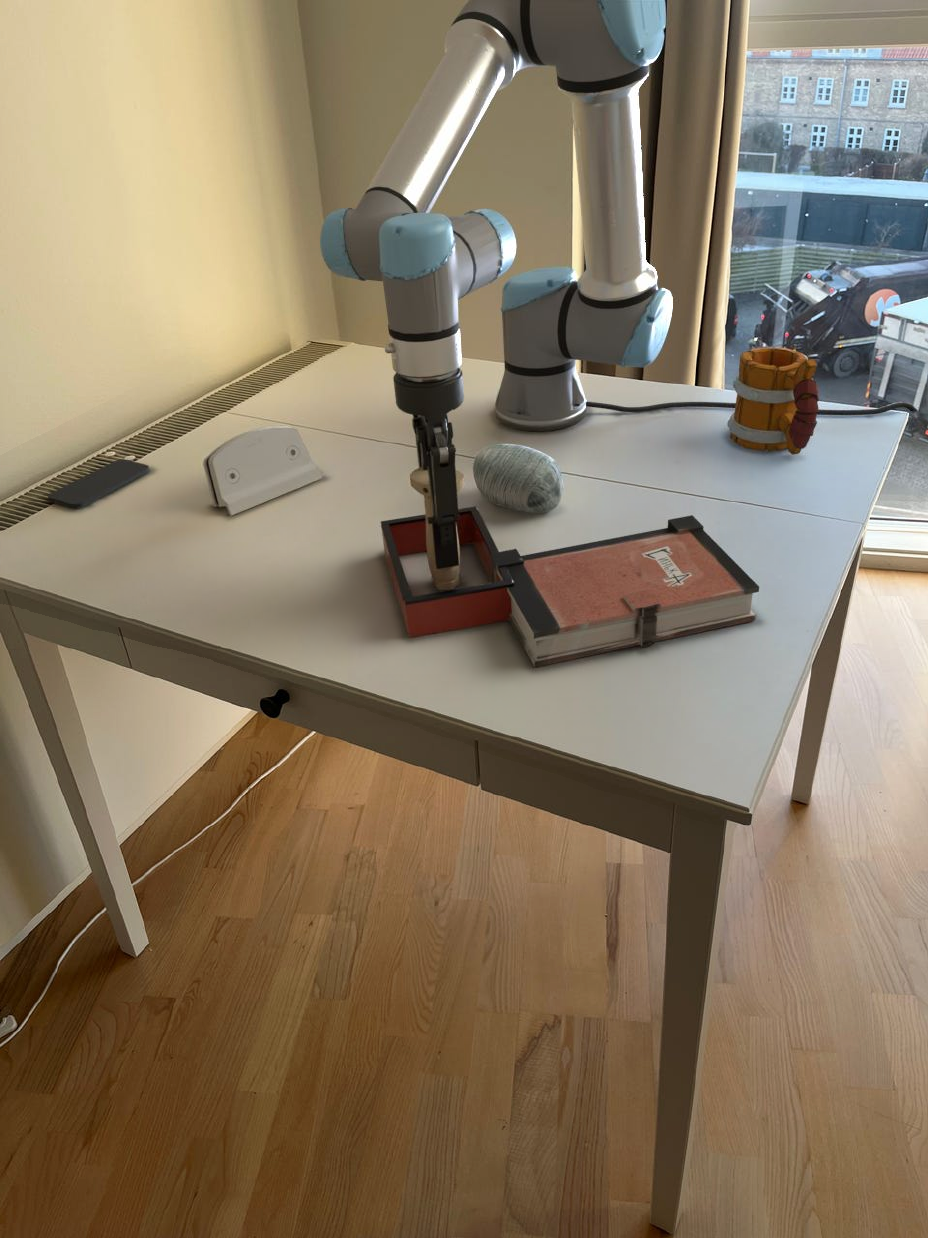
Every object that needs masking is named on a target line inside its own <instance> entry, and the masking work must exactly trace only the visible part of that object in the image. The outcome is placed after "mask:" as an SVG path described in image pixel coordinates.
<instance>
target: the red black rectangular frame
mask: <svg viewBox="0 0 928 1238" xmlns="http://www.w3.org/2000/svg"><path fill="white" fill-rule="evenodd" d="M458 514H459V522H456V526H457V533H458V539H459V547H460V546H466V545H471V544H472V545H474V548H475V551H476V552H477V554H478V556H479V558H480V560H481V561H480V562H481V563H482V565H483V567H484V569H485V571H486V574H487V576H488V579H489V580H490V582H488V583H482V584H477V585H470V586H464V587H458V588H454V589H452V590H442V591H441V590H440V591H436V592H435V591H434V592H429V593H425V594H424V593H423V594H418V595H417V594H416V595H412V593H411V590H410V586H409V583H408V580H407V577H406V574H405V570H404V568H403V564H402V562H401V559H400V556H405V555H411V554H416V553H423V552H427V545H426V515H425V514H418V515H413V516H406V517H400V518H392V519H388V520H387V519H386V520H381V521H380V528H381V535H382V542H383V551H384V556H385V559H386V564H387V566H388V570H389V574H390V577H391V580H392V583H393V587H394V590H395V594H396V597H397V600H398V603H399V607H400V610H401V614H402V617H403V621H404V625H405V628H406V631H407V634H408V637H409V638H415V637H421V636H426V635H434V634H438V633H444V632H449V631H455V630H461V629H466V628H472V627H477V626H483V625H489V624H494V623H500V622H505V621H506V622H507V621H509V614H512V605H511V597H510V595H509V594H508V591H507V588H508V587H512V586H514V582H513V579H512V577H511V575H510V573H509V571H508V569H507V567H506V566H501V567H498V571H499V573H500V575H501V577H502V579H503V581H501V579H500V578H499V576H498V574H497V572H496V579H497V582H493V583H492V578H491V560H490V554H491V553H496V552H500V551H499V548H498V547H497V545H496V543H495V541H494V538H493V537H492V534H491V533H490V531H489V529H488V527H487V525H486V523H485V521H484V519H483V516H482V515H481V513H480V511H479V509H478V508H477V506H476V505H475V506H469V507H462V508H458Z"/></svg>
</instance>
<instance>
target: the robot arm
mask: <svg viewBox="0 0 928 1238" xmlns="http://www.w3.org/2000/svg"><path fill="white" fill-rule="evenodd" d="M666 11H667V9H666V0H468V1H467V2H466V3H465V4H464V6H463V7H462V9H461V10H460V11H459V13H458V15H456V17H455V19H454V20H453V22H452V24H451V25H450V27H449V28H448V30H447V33H446V35H445V37H444V45H443V48H444V55H443V56H442V58H441V60H440V62H439V63H438V65H437V67H436V68H435V71H434V72H433V74H432V76H431V77H430V79H429V81H428V82H427V85H426V86H425V88H424V90H423V91H422V93H421V95H420V97H419V98H418V100H417V101H416V104H415V105H414V106H413V108H412V111H411V112H410V114H409V115H408V117H407V119H406V121H405V122H404V125H403V126H402V128H401V130H400V131H399V133H398V135H397V136H396V138H395V140H394V142H393V143H392V144H391V147H390V148H389V151H388V152H387V154H386V156H385V157H384V159H383V161H382V163H381V164H380V166H379V168H378V169H377V171H376V173H375V174H374V176H373V178H372V180H371V182H370V183H369V185H368V187H367V189H366V190H365V192H364V194H363V196H362V197H361V198H360V201H359V203H358V204H357V206H356V207H355V208H352V207H345V208H340V209H335V210H333V211H332V212H331V213H329V214H328V215H327V216H326V217H325V219H324V221H323V223H322V226H321V230H320V236H319V247H320V248H319V249H320V253H321V256H322V259H323V262H324V263H325V265H326V267H327V268H328V269H329V270H330V271H331V272H332V274H334V275H336V276H339V277H342V278H343V277H344V278H348V279H353V280H358V281H362V282H367V281H371V282H372V281H374V282H382V287H383V293H384V301H385V308H386V309H385V310H386V314H387V315H386V316H387V329H388V337H389V340H390V341H389V342H390V343H386V344H385V345H384V352H385V353H386V354H391V355H390V356H391V365H392V370H393V371H394V372H395V374H394V375H393V389H394V397H395V404H396V406H397V408H398V409H399V411H401V412H402V413H405V414H408V415H412V419H411V423H412V425H411V426H412V429H413V432H414V436H415V446H416V455H417V464H418V468H420V467H422V468H423V470H428V476H429V484H430V491H431V501H432V509H433V517H427V520H428V524H432V530H433V540H434V551H435V562H436V568H437V569H441V568H447V567H453V566H459V557H458V544H457V531H456V522H459V514H458V509H459V501H458V492H457V485H456V470H457V469H456V452H457V447H456V445H454V444H453V438H454V428H453V424H452V422H451V421H450V422H449V418H448V417H449V416H448V414H449V413H450V412H452V411H454V410H456V409H458V408H459V407H461V405H462V404H463V402H464V401H465V393H464V377H463V370H462V369H461V368H460V367H461V365H463V357H462V341H461V340H462V339H461V327H460V323H459V321H460V320H459V300H460V299H462V298H464V297H465V296H467V295H469V294H471V293H473V292H475V291H477V290H479V289H481V288H483V287H485V286H487V285H490V284H493V283H494V282H496V281H497V279H499V277H500V276H502V275H503V274H504V273H506V272H507V271H508V270H509V269H510V267H511V266H512V264H513V263H514V260H515V257H516V253H517V239H516V235H515V232H514V229H513V228H512V225H511V223H509V221H508V220H507V219H506V217H505V216H504V215H502V214H501V213H499V212H498V211H496V210H493V209H489V208H481V209H477V210H469V211H468V212H467V211H466V212H465V213H464V214H463V215H447V214H442V213H436V212H431V211H432V209H433V207H434V205H435V203H436V201H437V199H438V197H439V196H440V194H441V192H442V190H443V189H444V187H445V185H446V183H447V181H448V179H449V177H450V176H451V174H452V172H453V170H454V169H455V166H456V165H457V163H458V161H459V159H460V158H461V156H462V154H463V153H464V151H465V149H466V147H467V145H468V143H469V141H470V139H471V137H472V136H473V134H474V133H475V130H476V129H477V127H478V125H479V123H480V121H481V120H482V117H483V116H484V114H485V112H486V111H487V108H488V107H489V105H490V103H491V101H492V99H493V98H494V96H495V94H496V92H498V91H501V90H503V89H505V88H506V87H507V86H508V85H509V84H511V82H512V80H513V78H514V76H515V74H516V73H517V72H519V71H520V70H524V69H526V68H531V67H536V66H538V67H554V68H555V71H556V82H557V83H556V84H557V88H558V90H559V91H560V92H561V93H562V94H563V95H565V96H566V97H567V98H569V99H570V103H571V105H570V106H571V115H572V125H573V138H574V147H575V148H574V150H575V158H576V169H577V182H578V192H579V203H580V214H581V215H580V216H581V226H582V237H583V248H584V259H585V270H584V271H583V272H582V274H581V275H580V276H579V277H578V275H577V273H576V270H575V269H574V268H573V267H572V268H571V267H569V266H551V267H541V268H537V269H531V270H528V271H525V272H521V273H518V274H516V275H514V276H512V277H510V278H509V279H507V280H506V281H505V282H504V284H503V286H502V289H501V307H500V312H501V320H502V321H501V323H502V340H503V343H502V344H503V361H504V363H503V364H504V372H503V376H502V379H501V382H500V387H499V388H498V391H497V394H496V398H495V399H496V400H495V403H494V404H495V405H494V407H495V408H494V410H495V418H496V420H497V421H498V422H499V423H500V424H501V425H504V426H505V427H508V428H511V429H515V430H519V431H527V432H547V431H555V430H561V429H565V428H569V427H571V426H573V425H576V424H578V423H579V422H581V421H582V420H583V419H585V417H586V415H587V408H595V409H604V410H611V411H616V412H622V413H644V412H652V411H657V410H663V409H671V408H673V409H674V408H720V409H722V408H725V409H735V405H736V402H722V401H674V402H664V403H657V404H652V405H645V406H623V405H618V404H617V405H616V404H612V403H604V402H595V401H589V400H587V399H586V396H585V393H584V390H583V387H582V383H581V380H580V376H579V375H578V372H577V368H576V361H581V362H591V363H592V362H593V363H600V364H605V365H615V366H620V367H621V368H626V367H631V368H646V367H648V366H650V365H651V364H652V363H653V362H654V361H655V360H656V359H657V357H658V355H659V354H660V352H661V350H662V348H663V346H664V343H665V341H666V338H667V334H668V332H669V328H670V324H671V320H672V313H673V304H674V303H673V295H672V293H671V291H670V290H668V289H666V288H665V287H659V288H658V274H657V271H656V269H655V267H653V266H652V265H651V264H649V263H648V262H647V260H646V242H645V241H646V240H645V237H646V236H645V217H644V196H643V195H644V193H643V171H642V149H641V147H642V145H641V125H640V102H639V101H640V99H639V89H640V87H641V86H642V84H643V83H644V81H645V80H646V79H647V77H649V75H650V64H652V63H654V62H655V61H656V60H657V58H658V57H659V55H660V53H661V51H662V49H663V46H664V42H665V41H664V40H665V32H664V30H665V28H666V25H667V12H666ZM900 408H905V409H907V410H909V411H910V412H912V413H915V412H916V413H917V412H918V409H917V407H916V406H914V405H913V404H911V402H906V401H897V402H894V403H891V404H887V405H885V406H882V407H877V408H867V409H821V408H818V409H819V412H818V413H817V414H816V416H868V415H869V416H871V415H879V414H883V413H888V412H890V411H892V410H895V409H900ZM455 469H456V470H455ZM423 503H424V504H425V500H424V502H423Z"/></svg>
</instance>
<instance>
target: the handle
mask: <svg viewBox="0 0 928 1238" xmlns="http://www.w3.org/2000/svg"><path fill="white" fill-rule="evenodd" d="M455 470H456V485H457V493H459V492H460V491H461V490H463V489H464V487H465V474H464V473H463V472H461V471H459V470H458V469H456V468H455ZM409 483H410V487H411V488H412V489H414V491H415V492H417V493H419V494H420V495H422V496H423V500H424V501H425V503H424V513H425V515H426V545H427V551H426V554H427V560H428V561H427V562H428V567H429V570H430V571H429V572H430V574H431V582H432V584H433V586H435V587H436V589H437V590H438V591H440V592H441V591H446V590H452V589H455V588H456V586H459V585H460V574H459V573H460V568H461V567H460V565H461V551H460V546H459V539H458V533H457V544H458V557H459V566H453V567H447V568H441V569H437V568H436V562H435V551H434V540H433V530H432V524H428V520H427V517H433V509H432V501H431V491H430V484H429V476H428V470H423V468H422V467H420V468H419V467H418V468H416V469H413V471H412V472H411V473H410V474H409ZM456 531H457V526H456Z"/></svg>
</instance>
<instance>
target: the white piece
mask: <svg viewBox="0 0 928 1238" xmlns="http://www.w3.org/2000/svg"><path fill="white" fill-rule="evenodd" d="M202 465H203V469H204V472H205V476H206V477H205V478H206V481H207V484H208V489H209V492H210V497H211V501H212V504H213V507H215V508H217V507H221V508H222V507H226V509H227V512H228V515H229V516H234V515H237V514H239V513H242V512H244V511H246V510H249V509H251V508H254V507H256V506H258V505H261V504H263V503H265V502H268V501H270V500H273V499H276V498H277V497H280V496H282V495H285V494H287V493H290V492H293V491H295V490H297V489H300V488H302V487H305V486H307V485H309V484H312V483H313V482H314V483H315V482H316V481H319V480H322V479H323V475H322V473H321V469H320V467H319V466H318V465H317V464H316V463H315V461H314V460H313V458H312V455H311V454H310V452H309V449H308V447H307V446H306V444H305V441H304V439H303V437H302V435H301V433H300V431H299V429H297V428H295V427H292V426H283V425H282V426H267V427H261V428H256V429H251V430H249V431H246V432H243V433H240V434H238V435H236V436H234V437H232V438H230V439H228V440H226V441H225V442H223V443H222V444H220V445H219V446H218V447H216V448H214V450H213V451H212V452H210V453H209V454H208V455H207V456H206V457H205V458H204V459H203V462H202Z"/></svg>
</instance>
